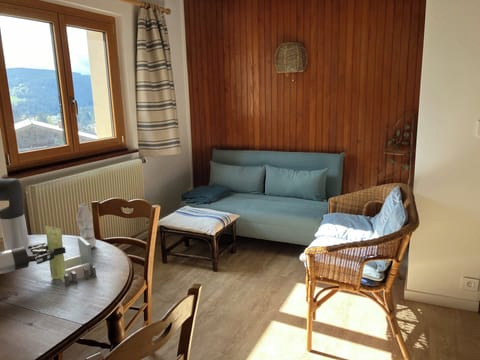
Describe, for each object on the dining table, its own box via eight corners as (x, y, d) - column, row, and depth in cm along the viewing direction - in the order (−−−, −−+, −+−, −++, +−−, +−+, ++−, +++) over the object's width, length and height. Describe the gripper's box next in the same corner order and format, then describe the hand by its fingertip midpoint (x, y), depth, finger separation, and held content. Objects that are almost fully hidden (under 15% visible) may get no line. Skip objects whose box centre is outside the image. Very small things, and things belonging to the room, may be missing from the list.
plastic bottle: (91, 251, 170) (85, 207, 165) (77, 250, 171) (71, 206, 166) (99, 245, 176) (94, 202, 171) (85, 244, 177) (80, 202, 173)
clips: (65, 284, 142) (63, 274, 141) (94, 274, 149) (93, 265, 148) (66, 286, 140) (65, 276, 139) (96, 276, 147) (95, 267, 146)
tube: (67, 272, 150) (62, 223, 145) (67, 278, 145) (61, 228, 141) (51, 274, 148) (45, 225, 143) (50, 280, 143) (43, 230, 139)
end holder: (55, 273, 151) (50, 243, 148) (84, 264, 158) (80, 236, 155) (63, 283, 143) (58, 252, 140) (94, 273, 149) (90, 244, 146)
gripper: (13, 256, 129) (67, 243, 139) (5, 244, 140) (56, 232, 150) (17, 277, 131) (69, 262, 141) (9, 263, 142) (58, 250, 152)
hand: (62, 247), depth 146 cm, fingers closed on tube, 5 cm apart
